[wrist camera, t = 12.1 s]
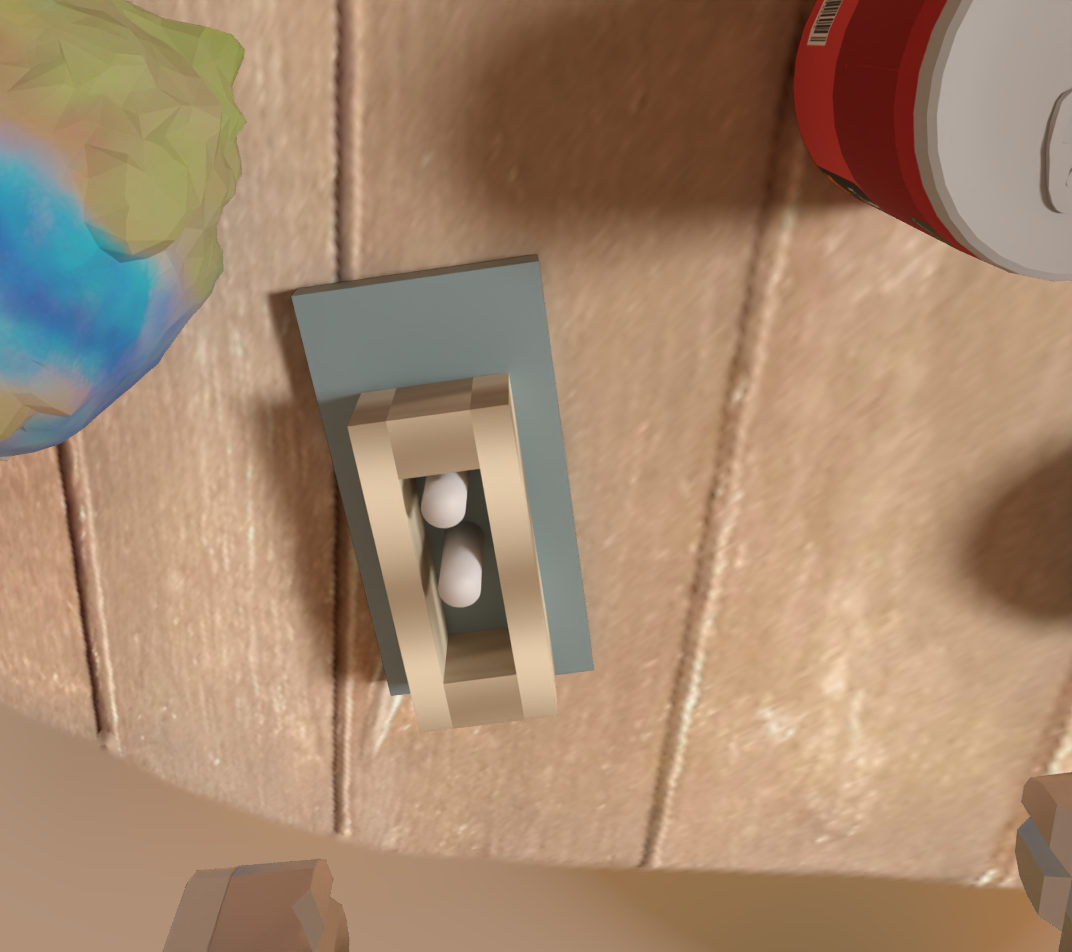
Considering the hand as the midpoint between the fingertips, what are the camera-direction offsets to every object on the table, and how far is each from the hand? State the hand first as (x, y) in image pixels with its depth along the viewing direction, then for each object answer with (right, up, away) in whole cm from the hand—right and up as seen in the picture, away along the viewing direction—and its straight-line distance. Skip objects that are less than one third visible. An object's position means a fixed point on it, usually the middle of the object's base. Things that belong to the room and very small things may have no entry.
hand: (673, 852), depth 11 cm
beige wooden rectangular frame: (-4, +2, +23) cm, 24 cm away
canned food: (+10, +17, +18) cm, 27 cm away
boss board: (-4, +4, +24) cm, 24 cm away
